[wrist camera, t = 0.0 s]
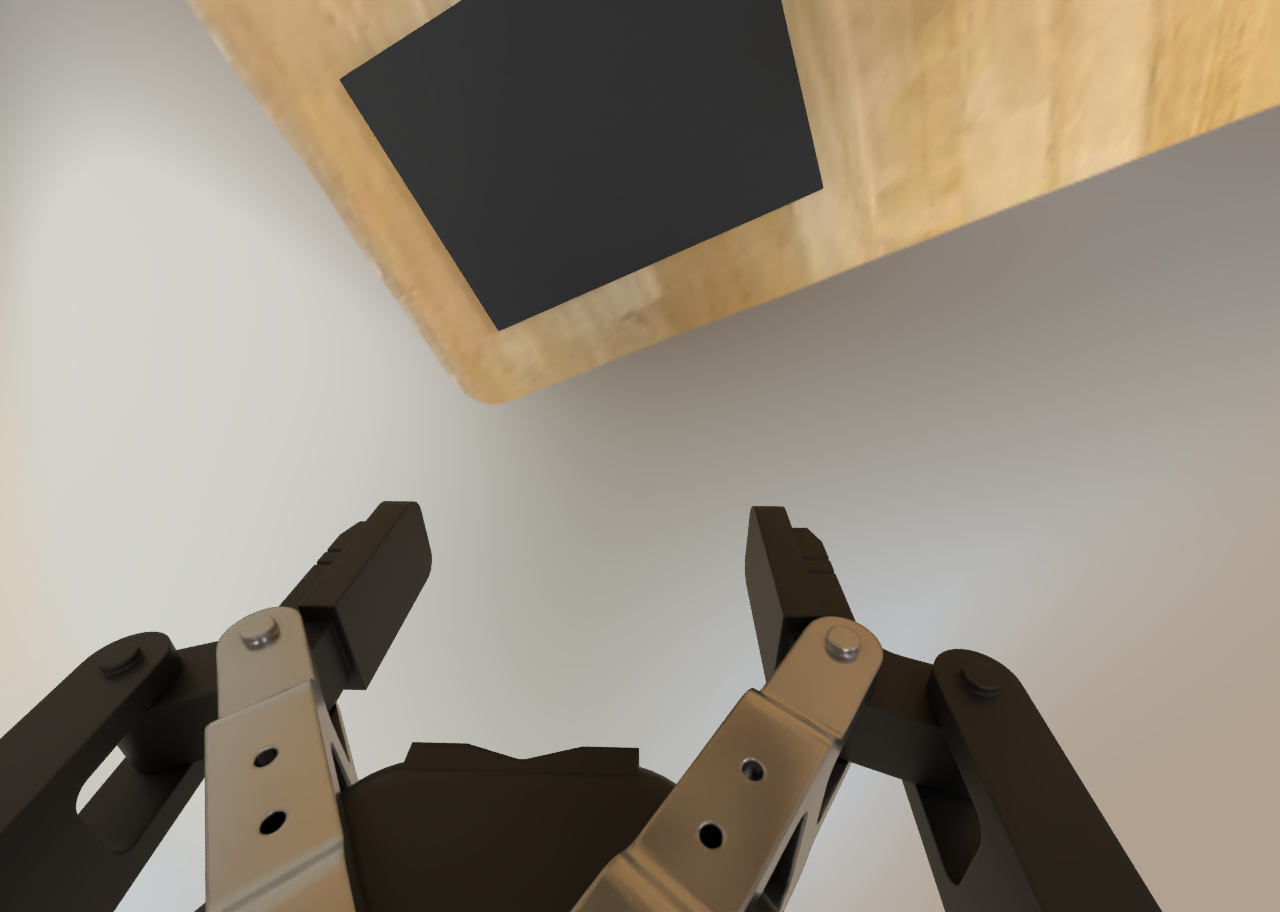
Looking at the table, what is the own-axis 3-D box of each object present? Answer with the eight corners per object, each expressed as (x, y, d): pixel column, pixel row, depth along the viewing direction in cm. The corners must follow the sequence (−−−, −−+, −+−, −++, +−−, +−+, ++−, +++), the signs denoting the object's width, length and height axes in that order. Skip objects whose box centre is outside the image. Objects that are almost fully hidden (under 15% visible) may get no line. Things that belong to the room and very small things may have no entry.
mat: (738, -175, 21) (740, -180, 21) (821, 186, 29) (823, 188, 28) (344, 78, 27) (338, 79, 26) (500, 327, 34) (498, 331, 34)
